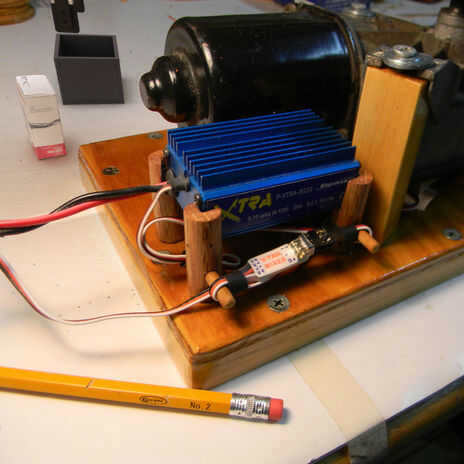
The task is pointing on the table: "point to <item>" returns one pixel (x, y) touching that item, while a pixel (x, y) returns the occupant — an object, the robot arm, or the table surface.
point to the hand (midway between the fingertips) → (71, 21)
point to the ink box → (41, 115)
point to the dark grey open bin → (88, 69)
